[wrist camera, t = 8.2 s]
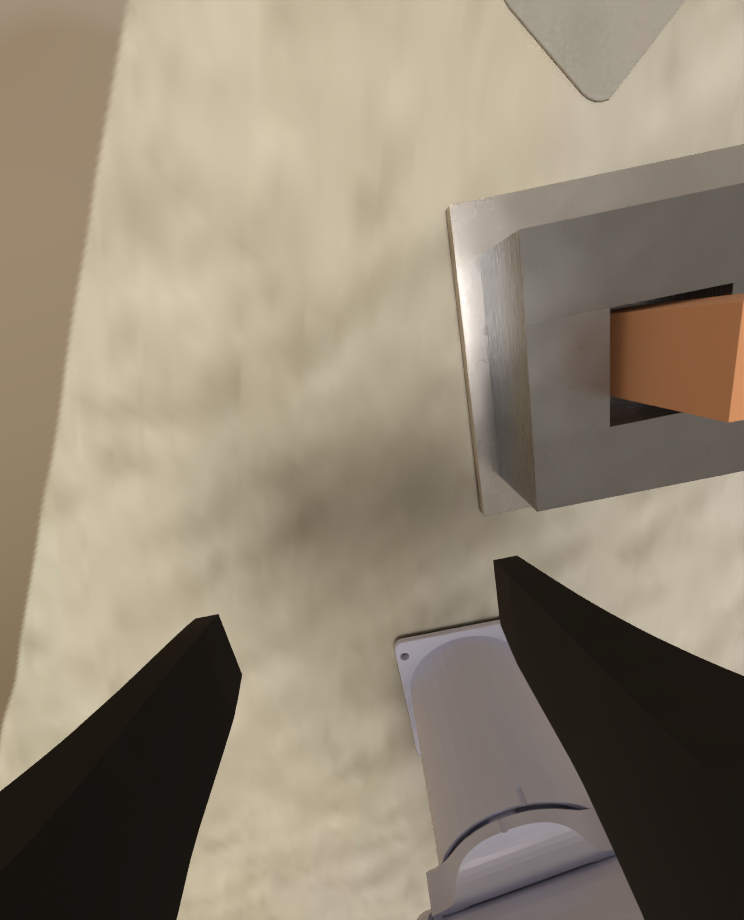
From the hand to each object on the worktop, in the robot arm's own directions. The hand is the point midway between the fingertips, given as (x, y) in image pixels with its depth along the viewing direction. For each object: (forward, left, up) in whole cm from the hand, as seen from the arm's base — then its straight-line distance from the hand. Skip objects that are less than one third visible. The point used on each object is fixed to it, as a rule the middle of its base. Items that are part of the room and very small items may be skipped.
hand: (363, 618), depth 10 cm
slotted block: (+4, -12, -10) cm, 16 cm away
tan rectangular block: (+4, -12, -9) cm, 16 cm away
